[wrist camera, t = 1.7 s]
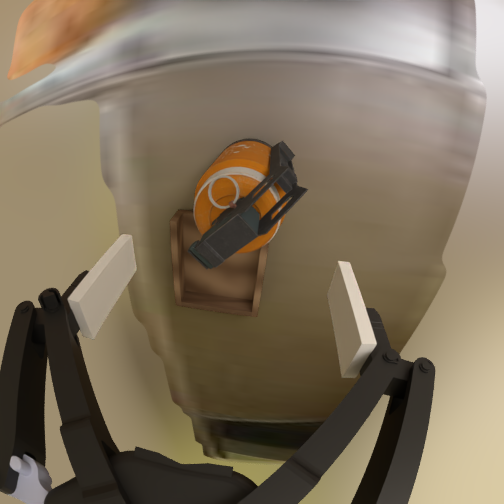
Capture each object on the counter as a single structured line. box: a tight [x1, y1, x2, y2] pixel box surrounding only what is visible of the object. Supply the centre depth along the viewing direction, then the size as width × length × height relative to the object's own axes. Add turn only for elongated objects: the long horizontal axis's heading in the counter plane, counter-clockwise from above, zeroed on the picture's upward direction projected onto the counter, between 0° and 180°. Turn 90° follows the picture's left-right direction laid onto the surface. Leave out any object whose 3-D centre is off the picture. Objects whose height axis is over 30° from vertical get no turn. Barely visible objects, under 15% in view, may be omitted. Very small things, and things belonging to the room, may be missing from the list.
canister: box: [187, 139, 308, 270], centre depth 28 cm, size 9×11×20 cm
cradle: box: [170, 210, 269, 317], centre depth 44 cm, size 16×14×4 cm
